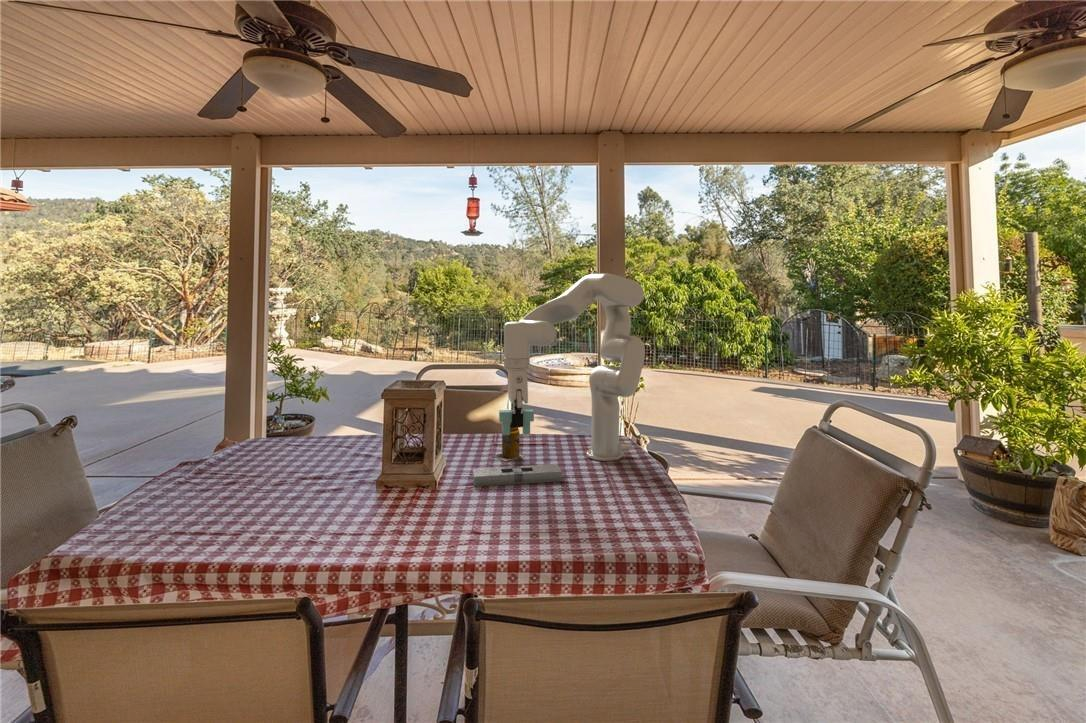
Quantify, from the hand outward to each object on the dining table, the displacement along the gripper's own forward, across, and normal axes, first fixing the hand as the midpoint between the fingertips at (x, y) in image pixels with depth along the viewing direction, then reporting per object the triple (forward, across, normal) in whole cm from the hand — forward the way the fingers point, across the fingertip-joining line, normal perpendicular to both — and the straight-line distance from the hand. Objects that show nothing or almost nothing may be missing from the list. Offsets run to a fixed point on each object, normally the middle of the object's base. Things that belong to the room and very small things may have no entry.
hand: (516, 424), depth 147 cm
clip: (+3, 0, 0) cm, 3 cm away
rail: (+17, 0, 0) cm, 17 cm away
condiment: (+17, +23, 0) cm, 29 cm away
